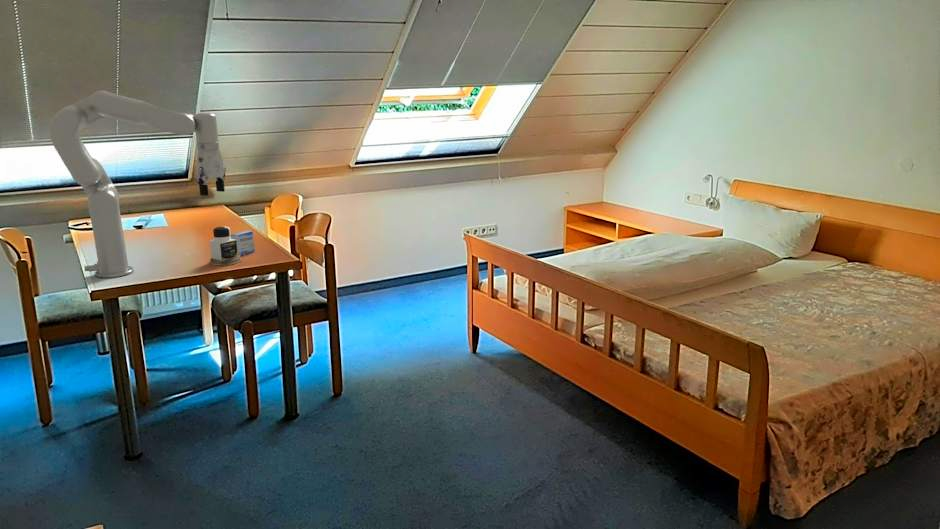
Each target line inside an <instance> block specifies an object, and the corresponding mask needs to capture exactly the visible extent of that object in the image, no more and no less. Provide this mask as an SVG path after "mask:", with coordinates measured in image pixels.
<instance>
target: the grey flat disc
mask: <svg viewBox="0 0 940 529" xmlns="http://www.w3.org/2000/svg"><path fill="white" fill-rule="evenodd" d="M242 259H243V258H242V256H240V255H238V257H237V258H233V259H229V260H225V261H220V260H216V259H212V258H210V261H209V265H211V266H215V265H217V266H216V267H218V266H220V267H221V265H225V266H231V265H232V264H233V265H235V264H236V263H237V264H239V263H241V262H242V261H243V260H242ZM241 260H242V261H241ZM240 261H241V262H240ZM238 262H239V263H238Z"/></svg>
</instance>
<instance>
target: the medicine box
mask: <svg viewBox="0 0 940 529" xmlns="http://www.w3.org/2000/svg"><path fill="white" fill-rule="evenodd" d="M230 234H231V237H230V238H231V239H236V243H237V253H238V255H240V257H242V256H241V255H243V256H245V255H244V254H246V255H249V254H252V253H251V252H253V253H255V252H256V250H255V240H254V239H255V238H254V237H255V236H254V232H253V230H243V231H240V232H239V231H238V232H235V233H230ZM254 251H255V252H254ZM248 253H249V254H248Z"/></svg>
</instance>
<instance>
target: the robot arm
mask: <svg viewBox="0 0 940 529" xmlns="http://www.w3.org/2000/svg"><path fill="white" fill-rule="evenodd" d="M104 118H107V119H108V118H109V119H113V120H117V121H122V122H125V123H129V124H133V125H137V126H141V127H146V128H151V129H155V130H160V131H163V132H168V133H171V134H175V135H176V134H177V135H180V136H189V135H191V134H193V133H195V138H196V147H197V148H196V149H197V153H196V154H197V157H196V167H197V168H196V169H197V170H196V171H195V172H194V174H193V176H194V178H195V181H196V182H197V184H198V186H199V195H200V196H203V197H204V196H205V197H207V196H209V189H208V188H209V186H208V184H207V183H208V180H214V179H215V187H216V188H215V189H216V192H225V177H226V171H227V168H226V167H225V166H224V160H223V155H222V152H221V150H220V145H219V144H220V143H219V133H218V124H217V115H215V113H212V112H199V113H188V112H178V111H174V110H170V109H167V108H163V107H160V106H156V105H153V104H151V103H150V102H146V101H144V100H140V99H137V98H132V97H127V96H124V95H121V94H117V93H114V92H110V91H108V90H97V91H95V92H94V93H92V94H91V95H89V96H87V97H85V98H83V99H81V100H78V101H76V102H74V103H72V104H70V105H68V106H65V107H63V108H61V109H60V110H59V111H58V112H57V113H56V114H55V115H54V117H53V119H52V120H51V122H50V126H49V138H50V141H51V144H52V145H53V147H54V149H55V151H56V153H57V154H58V156H59V157H60V159H61V161H62V162H63V164H64V166H65V167H66V169H67V171H68V172H69V174H70V175H71V177H72V180H73V181H74V182H75V183H77V185H79V186H81V188H82V189H83V191H84V193H86V195H87V197H88V198H87V206H88V207H87V208H88V212H89V216H90V221H91V227H92V233H93V238H94V244H95V245H94V246H95V250H96V256H97V258H96V259H97V261H96V263H94V264H92V265H84V266H83V267H84V272H94V274H95V276H96V277H98V278H101V277H102V278H103V279H104V278H109V279H110V278H118V277H123V276H127V275H131V274H132V273H133V272H134V271H135V270H134V267H133V266H132V265H129V261H128V254H127V248H126V241H125V234H124V228H123V221H122V215H121V211H120V210H121V208H120V196H119V192H118V189H117V188H116V186H115V185H114V183H113V181H112V179H111V177H109V175H108V173H107V172H106V169H105V168H104V167H103V165H102V164H101V162H100V161H98V159H95V158H93V156H91V154H90V153H89V150H87V148H86V146H85V144H84V142H83V141H82V139H81V138H80V134H79V133H80V131H81V130H82V129H84V128H86V127H88V126H89V125H92V124H94V123H96V122H97V121H100V120H102V119H104Z"/></svg>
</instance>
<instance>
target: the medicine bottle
mask: <svg viewBox="0 0 940 529" xmlns="http://www.w3.org/2000/svg"><path fill="white" fill-rule="evenodd" d="M212 231H213V239H211V240H209V241H208V242H209V249H210V257H211V258H212V259H216V260H220V261H225V260H229V259H233V258H237V257H238V253H237V243H236V239H231V234H232V233H231V228H230V227H229V226H216V227H214V228H213V230H212ZM211 258H210V259H211Z"/></svg>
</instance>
